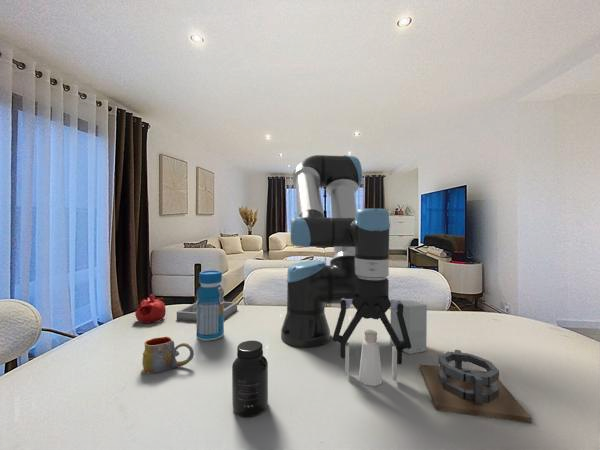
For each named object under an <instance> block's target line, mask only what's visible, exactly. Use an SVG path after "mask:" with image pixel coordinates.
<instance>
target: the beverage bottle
mask: <svg viewBox="0 0 600 450" xmlns="http://www.w3.org/2000/svg"><path fill="white" fill-rule="evenodd" d="M222 277H223V273H222V271H221V270H215V269H214V270H213V269H211V270H204V271H203V270H202V271H200V272H199V274H198V282H199V284H200V286H199V287H198V289H197V291H196V298H197V300H196V301H195V303H196V307H197V322H196V338H197V339H198V340H199V341H207V342H208V341H210V342H211V341H215V340H218V339H220V338H221V337H223V336H224V334H225V328H224V326H225V324H224V321H225V319H224V303H225V302H226V301H225V299H224V295H225V290H224V288H223V286H222V285H221V283H222V282H223V281H222V280H223V278H222Z"/></svg>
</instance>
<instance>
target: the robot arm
mask: <svg viewBox="0 0 600 450" xmlns="http://www.w3.org/2000/svg"><path fill="white" fill-rule="evenodd" d="M362 174H363V169H362V164H361V162H360V160H359V158H358V157H357V156H354V155H352V156H351V155H347V154H346V155H345V154H344V155H327V154H326V155H325V154H323V155H322V154H318V155H317V154H315V155H311V156H308V157H307V158H304V159H303V160H301V161H300V162H299V163H298V164H297V166H296V167H295V169H294V171H293V173H292V183H293V187H294V188H295V194H296V195H295V198H296V217H292V218H291V219H290V244H291V245H292V246H295V247H304V248H308V247H313V248H314V247H316V248H317V247H327V248H328V247H333V253H334V256H333V257H332V258H331V259H330V261H329V262H330V263H329V265H326V262H325V261H324V260H317V259H316V260H314V259H313V260H305V261H299V262H296V263H292V264H291V265H290V266H289V267H288V269H287V274H286V275H287V278H286V283H287V285H286V286H287V287H286V288H287V291H286V292H287V294H286V314H285V318H284V320H283V323H282V327H281V328H280V329H281V330H280V339H281V340H282V342H284V343H286V344H287V345H290V346H293V347H297V348H298V347H299V348H315V347H319V346H323V345H325V344H327V343H328V342H330V340H331V330H330V327H329V323H328V320H327V316H326V314H325V313H326V311H325V305H327V304H330V305H333V304H334V305H337V304H338V305H340V312H339V316H338V318H337V322H336V325H335V328H334V332H333V335H332V341H333V342H335V343H336V342H337V343H338V344H339V345H340V347H339V348H340V350H339V351H340V358H341V359H345V360H344V364H345V366H344V369H345V370H344V374H345V375H346V376H349V373H350V341H349V339H350V337H351V336H352V335H353V333H354V331H355V329H356V327H357V326H358V325H359V323H360V322H361V320H362V319H364V320H365V319H367V320H368V319H372V320H379V319H380V322H381V323H382V324H383V326H384V328H385V330H386V332H387V334H388V335H389V337H391V339H392V341H393V343H394V344H395V345H392V347H391V350H392V352H391V376H392V377H391V378H392V380H393V381H394V382H395V381H396V382H397V381H398V379H397V378H398V365H402V363H403V352H404V351H403V349H406V348H407V349H410V348H411V343H410V339H409V336H408V332H407V328H406V325H405V321H404V317H403V304H402V302H401V301H398V302H392V301H391V299H390V297H389V293H390V292H389V289H390V287H389V284H390V283H389V282H390V281H389V279H388V277H389V276H390V275H389V274H390V272H389V271H390V269H389V267H390V262H389V261H390V258H389V257H390V227H391V223H390V213H389V211H388V209H387V208H359V209H357V205H356V204H357V202H356V196H355V193H357V191H358V189H359V187H360V186H361V185H362V182H363V175H362ZM320 188H325V191H326V193H327V194H328V195H329V196H330V203H331V204H330V207H331V217H325V213H324V207H323V203H322V197H321V192H320ZM351 305H352V306H353V307H354V308H355V310H356V312H355V313H354V315H353V317H352V319H351V321H350V322H349V324H348V326H347V327H346V329H345V331H344V332H343V333H342V335H341V329H342V327H343V323H344V319H345V317H346V313H347V310H349V309H350V307H351ZM391 307H392V308H393V311H394V312H396V314H397V318H398V322H399V325H400V329H401V333H402V336H403V340H404V341H400V340H399V338H398V337H397V335H396V333H395V331H394V329H393V327H392V326H391V324H390V323H391V321H390V320H389V318H388V317H387V314H386V313H387V312H388V310H389V309H391Z"/></svg>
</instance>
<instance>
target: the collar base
mask: <svg viewBox="0 0 600 450" xmlns="http://www.w3.org/2000/svg"><path fill="white" fill-rule="evenodd" d="M419 370H420V373H421V375H422V378H423V380H424V383H425V387H426V388H427V392H428V394H429V397H430V399H431V400H432V404H433V407H434V409H435V411H441V412H449V413H454V414H455V413H457V414H462V415H463V414H464V415H469V416H470V415H471V416H475V417H476V416H478V417H484V418H485V417H486V418H491V419H499V420H504V421H505V420H506V421H507V420H508V421H513V422H521V423H529V424H532V422H533V417H532V416H531V415H530V414H529V412H528V411H527V410H526V409H525V408H524V407H523V406H522V404H521V403H520V402H519V401H518V400H517V399H516V397H515V396H514V395H513V394H512V393H511V391H509V389H508V388H507V387H506V386H505V385H504V384H503V383H502V381H501V380H500V378H499V379H498V380H497V381H495V382H494V383H495V384H496V385H497V387H498V388H499V397H497V398H496V399H494V400H493V401H491V402H490V403H482V406H478V405H475V404H474V402H473V401H467V400H465V399H461V398H459V397H457V396H455V395H453V394H451V393H450V392H448V391H446V390H444V389H443V388H442V386H441V383H440V381H439V379H438V372H439V371H440V370H442V369H441V367H440V365H432V364H431V365H429V364H422V363H421V364H419ZM473 370H474V371H476V372H478V373H481V374H485V373H487V371H486V370H480V369H479V370H477V369H473ZM448 381H449V382H451V383H453V384H455V385H457V386H459V387H461V388H463V389H465V390H473V383H466V382H462V381H460V380H458V379H456V378H454V377H452V376H451V377H450V378H448ZM485 390H487V387H486V386H485V385H483V392H484V391H485Z"/></svg>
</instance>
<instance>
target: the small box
mask: <svg viewBox="0 0 600 450" xmlns="http://www.w3.org/2000/svg"><path fill="white" fill-rule="evenodd" d="M390 301H392V302H398V301H401V302H402V304H403V317H404V321H405V325H406V328H407V332H408V336H409V339H410V343H411V348H410V349H407V348H406V349H403V352H405V353H406V354H408V355H413V354H418V353H422V352H426V351H427V335H428V334H427V323H428V322H427V321H428V320H427V319H428V318H427V313H428V312H427V306H428V305H427V304H425V303H422V302H419V301H417V300H414V299H410V298H405V297H403V298H393V299H392V298H391V299H390ZM390 324H391V326H392V327H393V329H394V331H395V333H396V335H397V337H398V338H399V340H400V341H404V340H403V336H402V333H401V329H400V325H399V322H398V318H397V314H396V312H394V311H393V308H392V307H390ZM389 337H390V336H389ZM389 342H390V344H391V345H392V346H395V344H394V343H393V341H392V339H391V337H390V338H389Z"/></svg>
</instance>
